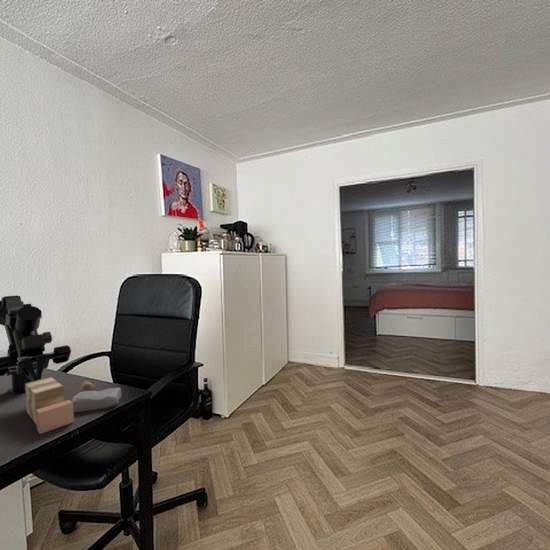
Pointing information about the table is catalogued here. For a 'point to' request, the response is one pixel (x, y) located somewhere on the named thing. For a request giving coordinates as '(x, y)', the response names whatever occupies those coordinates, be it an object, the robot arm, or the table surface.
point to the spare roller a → (87, 386)
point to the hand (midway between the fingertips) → (38, 384)
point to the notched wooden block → (42, 395)
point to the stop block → (54, 416)
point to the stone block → (96, 399)
